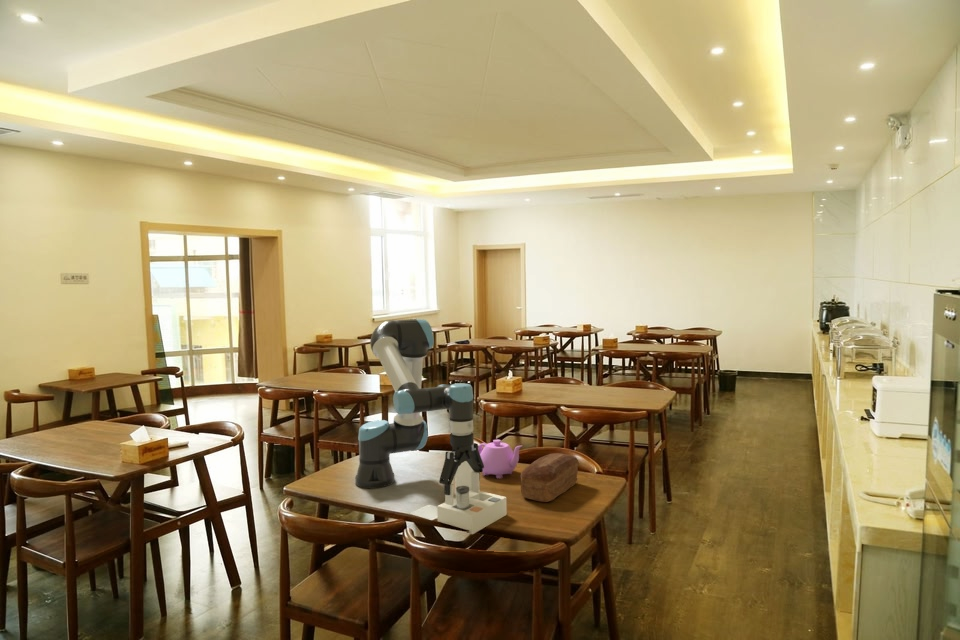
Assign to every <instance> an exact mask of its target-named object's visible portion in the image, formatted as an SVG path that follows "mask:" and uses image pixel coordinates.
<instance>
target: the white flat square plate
mask: <svg viewBox="0 0 960 640" xmlns="http://www.w3.org/2000/svg"><path fill="white" fill-rule="evenodd" d="M437 506H438V505H437ZM437 506H436V505H432V504H427V505H425V506H422V507H420V508H418V509H416V510H414V511H412V512H409V515H412V516H416V517H420V518H423V519H426V520H430V521H434V520H436V519H438V516H437Z"/></svg>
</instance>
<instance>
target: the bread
mask: <svg viewBox="0 0 960 640" xmlns="http://www.w3.org/2000/svg"><path fill="white" fill-rule="evenodd" d="M579 464H580V463H579V459H578V458H577V457H575V456H574V455H571V454H567V453H561V452H556V453H555V452H554V453H553V452H552V453H549V454H546V455H544V456H541V457H539V458H537V459H536V460H534V461H532V462H531V464H529V465H528V466H526V467H525V468H523V470H522V471H521V473H520V483H521V484H520V491H521V496H522V497H523V498H526V499H528V500H531V501H537V502H543V503H545V502H546V503H547V502H551V501H553V500H555V499H556V498H557V497H559V496H560V495H562V494H564V493H565V492H567V490H569V489H570V488H572V487H573V486H575V484H576V483H577V481H578V473H579V470H578V466H579Z"/></svg>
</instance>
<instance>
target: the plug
mask: <svg viewBox="0 0 960 640" xmlns="http://www.w3.org/2000/svg"><path fill="white" fill-rule="evenodd" d="M456 492H457V509H460V510H464V511H465V510H467V509H469V487H468V486H458V487H456Z"/></svg>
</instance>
